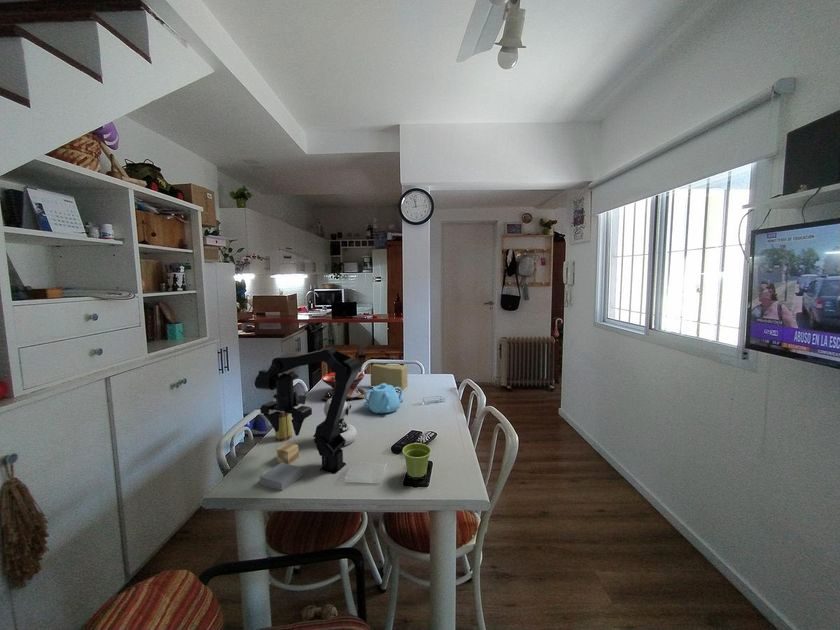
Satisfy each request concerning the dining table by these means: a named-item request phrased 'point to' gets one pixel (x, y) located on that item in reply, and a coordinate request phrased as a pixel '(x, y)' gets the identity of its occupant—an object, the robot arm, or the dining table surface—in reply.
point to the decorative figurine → (343, 423)
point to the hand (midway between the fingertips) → (287, 433)
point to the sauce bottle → (284, 427)
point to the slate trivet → (281, 476)
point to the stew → (330, 381)
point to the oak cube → (287, 453)
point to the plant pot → (416, 459)
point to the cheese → (389, 375)
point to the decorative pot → (383, 398)
